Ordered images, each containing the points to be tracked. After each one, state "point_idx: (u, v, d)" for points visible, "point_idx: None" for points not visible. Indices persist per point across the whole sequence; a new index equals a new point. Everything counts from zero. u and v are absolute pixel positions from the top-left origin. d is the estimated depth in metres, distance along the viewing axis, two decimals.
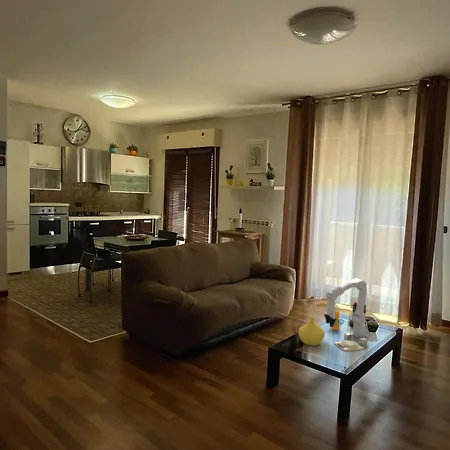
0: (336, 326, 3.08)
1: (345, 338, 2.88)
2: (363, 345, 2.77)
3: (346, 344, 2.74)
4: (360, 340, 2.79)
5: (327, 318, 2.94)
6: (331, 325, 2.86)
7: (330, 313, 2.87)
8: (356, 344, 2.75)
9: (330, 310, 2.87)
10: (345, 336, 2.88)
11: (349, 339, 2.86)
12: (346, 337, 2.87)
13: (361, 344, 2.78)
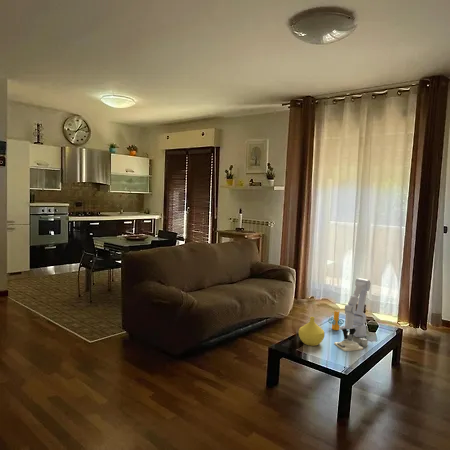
0: (336, 326, 3.08)
1: None
2: (363, 345, 2.77)
3: (346, 344, 2.74)
4: (360, 340, 2.79)
5: (350, 332, 2.89)
6: (344, 336, 2.87)
7: (345, 325, 2.87)
8: (356, 344, 2.75)
9: (345, 322, 2.87)
10: None
11: (349, 339, 2.86)
12: None
13: (361, 344, 2.78)
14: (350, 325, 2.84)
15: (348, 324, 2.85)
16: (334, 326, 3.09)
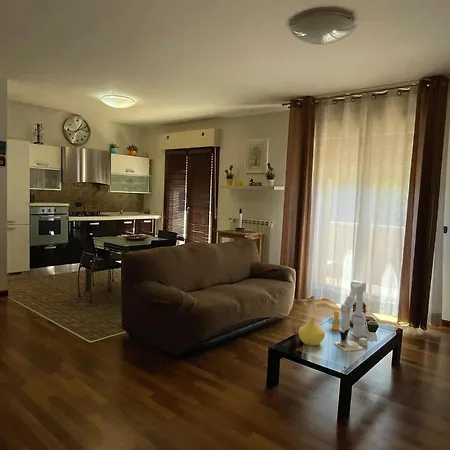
0: (336, 326, 3.08)
1: (342, 341, 2.76)
2: (363, 345, 2.77)
3: (346, 344, 2.74)
4: (360, 340, 2.79)
5: (344, 332, 2.81)
6: (342, 339, 2.74)
7: (342, 326, 2.75)
8: (356, 344, 2.75)
9: (342, 323, 2.75)
10: None
11: (346, 341, 2.77)
12: None
13: (361, 344, 2.78)
14: (348, 325, 2.75)
15: (347, 325, 2.74)
16: (334, 326, 3.09)
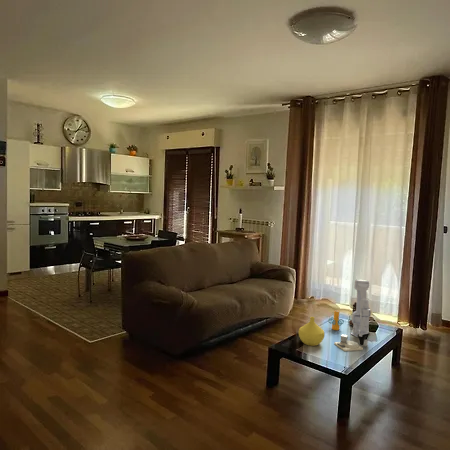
0: (336, 326, 3.08)
1: (342, 341, 2.76)
2: (363, 345, 2.77)
3: (346, 344, 2.74)
4: None
5: None
6: (361, 343, 2.76)
7: (361, 330, 2.77)
8: (356, 344, 2.75)
9: (361, 327, 2.77)
10: (342, 339, 2.76)
11: (346, 341, 2.77)
12: (344, 339, 2.75)
13: None
14: (367, 330, 2.76)
15: (366, 329, 2.75)
16: (334, 326, 3.09)
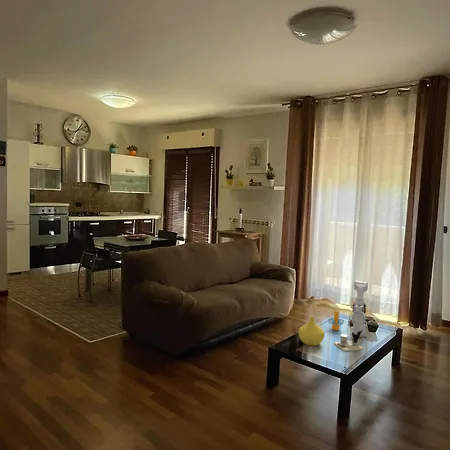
0: (336, 326, 3.08)
1: (342, 341, 2.76)
2: (357, 344, 2.71)
3: (346, 344, 2.74)
4: None
5: None
6: (354, 341, 2.70)
7: (355, 328, 2.71)
8: None
9: (355, 325, 2.71)
10: (342, 339, 2.76)
11: (346, 341, 2.77)
12: (344, 339, 2.75)
13: (355, 344, 2.72)
14: (361, 327, 2.71)
15: (360, 326, 2.70)
16: (334, 326, 3.09)
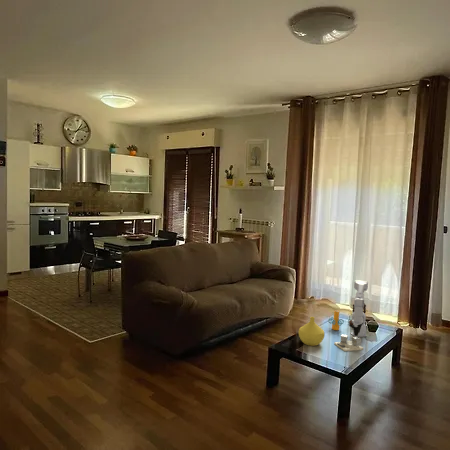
0: (336, 326, 3.08)
1: (342, 341, 2.76)
2: (357, 344, 2.71)
3: (346, 344, 2.74)
4: (354, 339, 2.73)
5: None
6: (355, 334, 2.69)
7: (355, 321, 2.70)
8: None
9: (355, 318, 2.70)
10: (342, 339, 2.76)
11: (346, 341, 2.77)
12: (344, 339, 2.75)
13: (355, 344, 2.72)
14: (361, 319, 2.70)
15: (360, 319, 2.70)
16: (334, 326, 3.09)
